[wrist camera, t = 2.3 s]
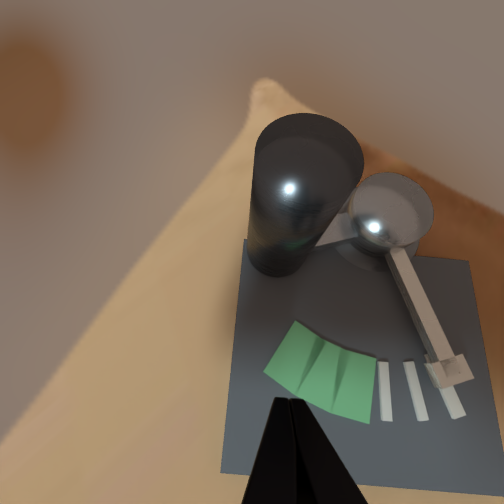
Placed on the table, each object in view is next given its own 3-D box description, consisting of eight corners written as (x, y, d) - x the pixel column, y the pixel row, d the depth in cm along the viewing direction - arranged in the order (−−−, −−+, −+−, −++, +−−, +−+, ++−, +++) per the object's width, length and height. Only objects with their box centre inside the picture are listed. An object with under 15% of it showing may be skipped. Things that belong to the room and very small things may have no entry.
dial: (392, 188, 19) (499, 69, 12) (481, 370, 16) (732, 380, 8) (238, 222, 18) (239, 113, 10) (297, 431, 14) (372, 520, 6)
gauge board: (494, 488, 15) (515, 499, 14) (221, 465, 15) (220, 474, 14) (446, 202, 21) (458, 193, 20) (250, 183, 21) (250, 172, 19)
